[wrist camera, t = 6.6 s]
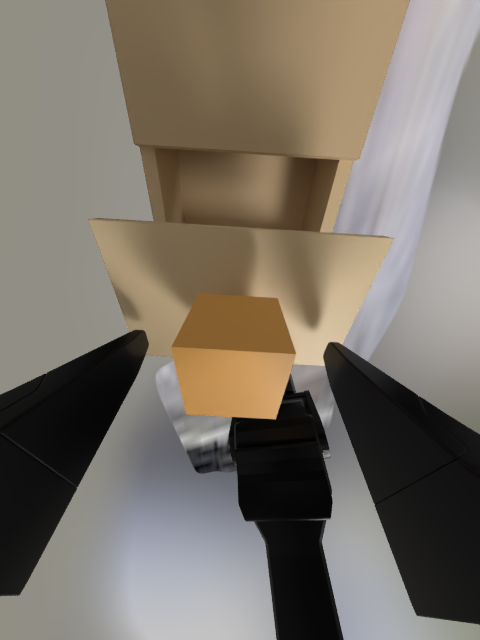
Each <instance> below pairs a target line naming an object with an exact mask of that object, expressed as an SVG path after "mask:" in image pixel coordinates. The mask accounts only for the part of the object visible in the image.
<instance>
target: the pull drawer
mask: <svg viewBox="0 0 480 640" xmlns="http://www.w3.org/2000/svg"><path fill="white" fill-rule="evenodd" d="M89 223H90V225H91V228H92V231H93V234H94V236H95V239H96V241H97V244H98V247H99V250H100V253H101V255H102V258H103V261H104V263H105V266H106V269H107V272H108V274H109V277H110V280H111V282H112V285H113V288H114V290H115V293H116V296H117V299H118V302H119V304H120V307H121V310H122V313H123V315H124V318H125V321H126V323H127V326H128V329H129V332H131V331H133V330H144V331H145V332H146V335H147V339H148V342H149V347H148V350H147V352H146V355H145V356H162V357H173V358H174V362H175V367H176V372H177V376H178V381H179V385H180V390H181V395H182V399H183V404H184V408H185V413H186V414H188V415H206V416H224V417H242V418H261V419H276V417H277V414H278V411H279V408H280V404H281V401H282V398H283V395H284V392H285V389H286V385H287V382H288V379H289V376H290V373H291V370H292V366H293V364H302V365H319V366H325V364H324V360H323V354H324V351H325V349H326V347H327V344H328V343H329V342H338V343H340V344H343V342H344V340H345V338H346V336H347V334H348V331H349V329H350V327H351V325H352V323H353V321H354V319H355V317H356V315H357V313H358V311H359V309H360V307H361V305H362V303H363V301H364V299H365V297H366V295H367V293H368V291H369V289H370V287H371V285H372V283H373V281H374V279H375V277H376V275H377V273H378V271H379V269H380V267H381V264H382V262H383V260H384V258H385V256H386V254H387V252H388V250H389V248H390V246H391V244H392V242H393V240H394V238H390V237H386V236H375V235H359V234H343V233H328V232H312V231H296V230H280V229H264V228H248V227H232V226H216V225H200V224H184V223H168V222H152V221H135V220H119V219H104V218H96V219H89Z"/></svg>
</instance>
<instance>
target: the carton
mask: <svg viewBox="0 0 480 640" xmlns="http://www.w3.org/2000/svg"><path fill="white" fill-rule="evenodd" d="M105 1H106V6H107V11H108V16H109V21H110V26H111V31H112V36H113V41H114V46H115V51H116V56H117V61H118V66H119V71H120V76H121V81H122V86H123V91H124V96H125V100H126V106H127V110H128V116H129V121H130V125H131V130H132V136H133V141H134V144H135V145H138V146H139V147H140V151H141V155H142V161H143V167H144V172H145V177H146V182H147V187H148V193H149V197H150V203H151V208H152V214H153V219H154V222H168V223H184V224H200V225H216V226H232V227H248V228H264V229H280V230H296V231H312V232H328V233H332V230H333V227H334V224H335V220H336V217H337V214H338V211H339V207H340V204H341V201H342V198H343V194H344V191H345V188H346V185H347V181H348V178H349V175H350V172H351V168H352V165H353V162H354V161H355V160H357V159H360V156H361V152H362V149H363V146H364V143H365V140H366V137H367V134H368V131H369V127H370V124H371V121H372V118H373V115H374V112H375V109H376V105H377V102H378V99H379V96H380V93H381V90H382V87H383V84H384V80H385V77H386V74H387V71H388V68H389V65H390V62H391V58H392V55H393V52H394V49H395V46H396V43H397V40H398V37H399V33H400V30H401V27H402V24H403V21H404V18H405V15H406V11H407V8H408V5H409V2H410V0H105Z"/></svg>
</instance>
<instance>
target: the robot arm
mask: <svg viewBox="0 0 480 640" xmlns="http://www.w3.org/2000/svg"><path fill="white" fill-rule="evenodd" d="M148 347H149V342H148V339H147V335H146V332H145V331H144V330H133V331H131V332H129V333H127V334H125V335H123V336H121V337H119V338H117V339H115V340H113V341H111V342H109V343H107V344H105V345H103V346H101V347H98V348H97V349H94V350H92V351H90V352H88V353H86V354H84V355H82V356H80V357H78V358H76V359H74V360H72V361H70V362H68V363H66V364H64V365H62V366H60V367H58V368H56V369H53V370H52V371H49V372H47V374H43V375H41V376H39V377H37V378H35V379H33V380H31V381H29V382H27V383H25V384H22V385H20V386H18V387H16V388H14V389H12V390H10V391H8V392H5V393H3V394H1V395H0V596H18V595H20V593H21V592H22V590H23V588H24V587H25V585H26V583H27V582H28V580H29V578H30V576H31V574H32V572H33V570H34V568H35V567H36V565H37V563H38V561H39V559H40V557H41V555H42V553H43V551H44V550H45V548H46V546H47V544H48V542H49V540H50V538H51V537H52V535H53V533H54V531H55V529H56V527H57V525H58V523H59V521H60V519H61V518H62V516H63V514H64V512H65V510H66V508H67V506H68V505H69V503H70V501H71V499H72V497H73V495H74V493H75V492H76V490H77V488H76V487H78V486H79V484H80V482H81V480H82V478H83V476H84V474H85V472H86V471H87V469H88V467H89V465H90V463H91V461H92V459H93V457H94V456H95V454H96V452H97V450H98V448H99V446H100V444H101V442H102V441H103V439H104V437H105V435H106V433H107V431H108V429H109V427H110V425H111V424H112V422H113V420H114V418H115V416H116V414H117V412H118V411H119V409H120V406H121V405H122V403H123V401H124V399H125V397H126V395H127V394H128V392H129V390H130V388H131V386H132V384H133V382H134V381H135V379H136V376H137V375H138V372H139V370H140V368H141V365H142V362H143V360H144V357H145V355H146V352H147V350H148ZM323 360H324V364H325V367H326V371H327V375H328V379H329V383H330V387H331V390H332V392H333V395H334V398H335V400H336V403H337V406H338V408H339V411H340V414H341V416H342V419H343V422H344V424H345V427H346V430H347V432H348V435H349V438H350V440H351V443H352V446H353V448H354V451H355V454H356V456H357V459H358V462H359V464H360V467H361V470H362V472H363V475H364V477H365V480H366V483H367V486H368V488H369V491H370V494H371V496H372V499H373V502H374V504H375V507H376V510H377V513H378V515H379V518H380V521H381V523H382V526H383V529H384V532H385V534H386V537H387V540H388V542H389V544H390V548H391V550H392V553H393V555H394V558H395V561H396V564H397V566H398V569H399V572H400V574H401V577H402V580H403V582H404V585H405V588H406V590H407V593H408V595H409V598H410V601H411V603H412V606H413V608H414V610H415V613H416V615H417V616H421V617H429V618H436V619H444V620H452V621H459V622H466V623H474V624H479V625H480V434H478V433H477V432H475V431H473V430H472V429H470V428H468V427H467V426H465V425H463V424H462V423H460V422H459V421H457V420H455V419H454V418H452V417H451V416H449V415H447V414H446V413H444V412H443V411H441V410H440V409H438V408H437V407H435V406H433V405H432V404H430V403H429V402H427V401H426V400H424V399H423V398H421V397H418V395H416V394H415V393H414V392H412V391H411V390H409V389H408V388H406V387H405V386H403V385H402V384H400V383H399V382H397V381H396V380H394V379H393V378H391V377H390V376H388V375H387V374H385V373H384V372H382V371H381V370H379V369H378V368H376V367H374V366H373V365H372V364H370V363H369V362H367V361H366V360H364V359H363V358H361V357H360V356H358V355H357V354H355V353H354V352H352V351H351V350H349V349H348V348H346V347H345V346H343V345H342V344H340V343H338V342H329V343H328V344H327V347H326V349H325V351H324V354H323ZM292 367H293V366H292ZM228 447H229V448H230V451H231V457H232V460H233V463H234V464H235V465H237V474H238V499H239V500H238V502H239V506H240V509H241V511H242V514H243V517H244V519H245V520H246V521H254V522H255V524H256V526H257V528H258V529H259V531H260V533H261V535H262V537H263V539H264V540H265V544H266V551H267V559H268V568H269V577H270V585H271V594H272V603H273V612H274V620H275V629H276V638H277V640H343V635H342V631H341V626H340V622H339V617H338V613H337V608H336V604H335V599H334V595H333V590H332V586H331V581H330V577H329V573H328V568H327V564H326V559H325V555H324V550H323V546H322V538H323V533H324V528H325V524H326V520H330V518H331V511H332V496H331V495H332V489H331V485H330V481H329V477H328V473H327V469H326V466H325V461H324V459H325V458H330V450H329V446H328V442H327V438H326V434H325V431H324V428H323V425H322V422H321V419H320V417H319V414H318V412H317V409H316V407H315V405H314V402H313V400H312V397H311V395H310V392H309V390H308V391H304V392H300V393H296V391H295V387H294V383H293V380H292V376H291V373H290V376H289V379H288V382H287V385H286V389H285V392H284V395H283V398H282V401H281V404H280V408H279V411H278V414H277V417H276V419H261V418H242V417H232V421H231V426H230V431H229V439H228Z"/></svg>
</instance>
